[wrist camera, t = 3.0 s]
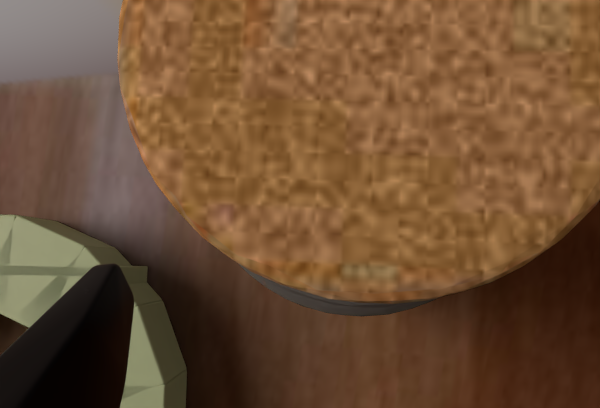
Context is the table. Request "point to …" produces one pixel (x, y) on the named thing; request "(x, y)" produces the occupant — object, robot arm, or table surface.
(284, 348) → the table surface
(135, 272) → the holder
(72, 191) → the table surface
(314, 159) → the bottle
